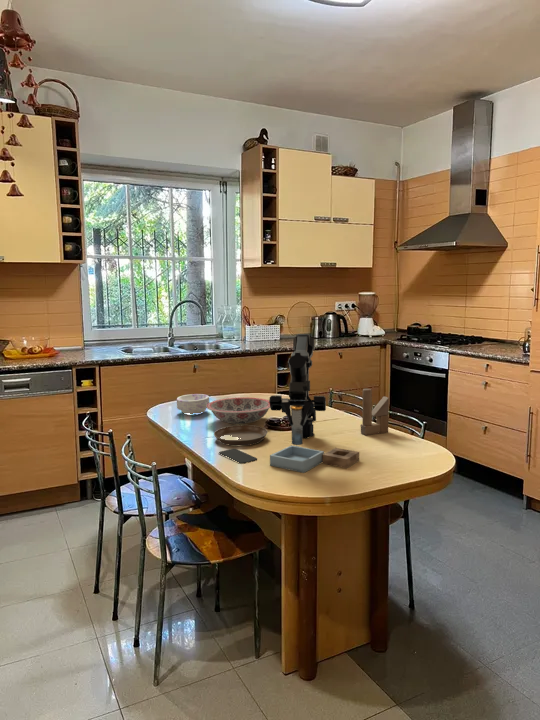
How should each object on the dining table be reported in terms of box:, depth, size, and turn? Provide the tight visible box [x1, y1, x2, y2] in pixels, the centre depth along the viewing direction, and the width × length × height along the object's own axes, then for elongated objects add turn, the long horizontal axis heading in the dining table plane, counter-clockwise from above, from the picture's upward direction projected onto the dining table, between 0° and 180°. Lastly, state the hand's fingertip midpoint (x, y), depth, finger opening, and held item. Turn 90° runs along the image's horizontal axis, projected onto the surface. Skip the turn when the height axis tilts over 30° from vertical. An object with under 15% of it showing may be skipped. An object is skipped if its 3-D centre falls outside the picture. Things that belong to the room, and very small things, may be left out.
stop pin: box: [290, 405, 304, 446], centre depth 175 cm, size 4×4×12 cm
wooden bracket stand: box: [360, 388, 390, 436], centre depth 210 cm, size 4×11×18 cm, turn 111°
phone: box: [218, 448, 258, 464], centre depth 185 cm, size 7×1×15 cm
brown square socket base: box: [322, 447, 360, 469], centre depth 177 cm, size 9×9×3 cm
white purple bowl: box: [176, 393, 210, 414], centre depth 249 cm, size 15×15×8 cm
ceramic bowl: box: [206, 396, 271, 425], centre depth 232 cm, size 29×29×8 cm
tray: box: [269, 444, 325, 474], centre depth 176 cm, size 13×13×4 cm
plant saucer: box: [213, 424, 268, 446], centre depth 205 cm, size 21×21×3 cm
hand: (296, 425), depth 173 cm, fingers closed on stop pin, 4 cm apart
